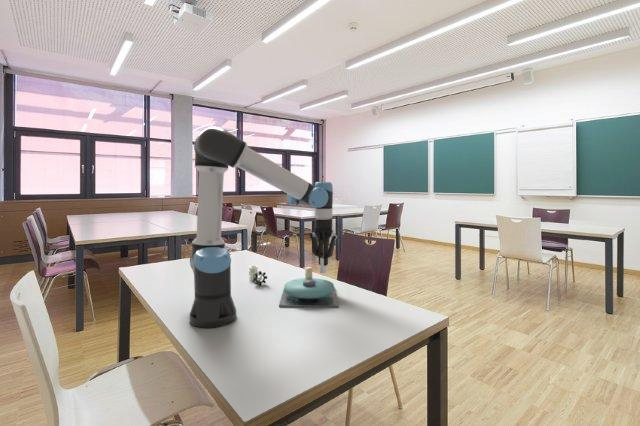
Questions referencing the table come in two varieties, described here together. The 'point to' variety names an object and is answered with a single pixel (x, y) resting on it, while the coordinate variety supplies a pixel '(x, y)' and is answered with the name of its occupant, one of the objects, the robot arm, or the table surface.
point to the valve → (256, 275)
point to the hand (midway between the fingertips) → (323, 272)
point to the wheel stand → (308, 301)
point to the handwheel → (309, 286)
